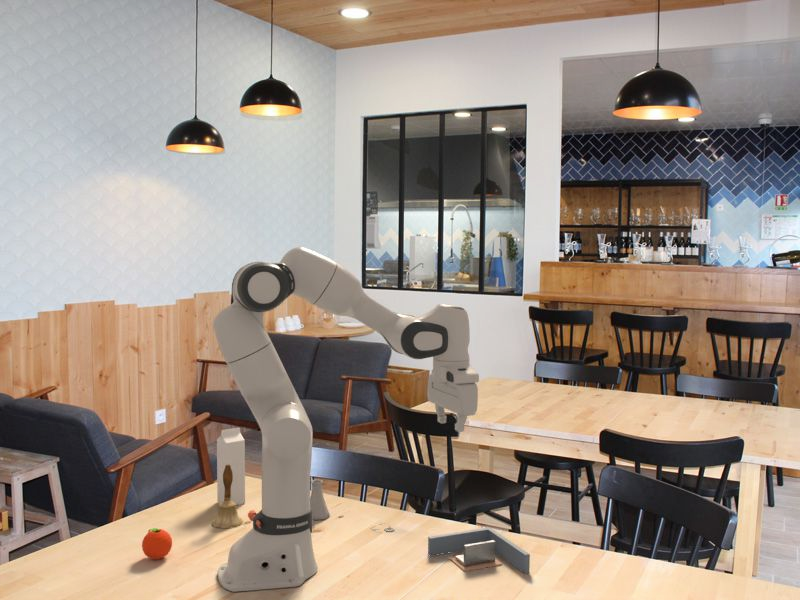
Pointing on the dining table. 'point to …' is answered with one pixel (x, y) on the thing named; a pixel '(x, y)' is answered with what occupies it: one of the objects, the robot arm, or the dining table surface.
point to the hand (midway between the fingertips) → (450, 426)
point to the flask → (318, 501)
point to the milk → (231, 464)
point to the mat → (475, 565)
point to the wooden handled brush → (227, 505)
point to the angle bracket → (477, 554)
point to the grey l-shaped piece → (459, 539)
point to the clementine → (157, 543)
